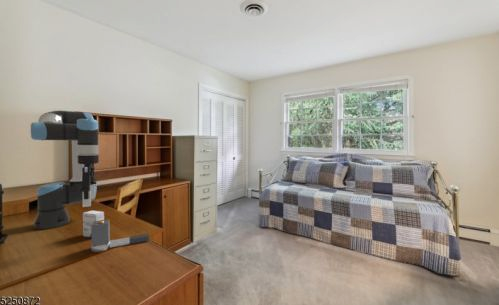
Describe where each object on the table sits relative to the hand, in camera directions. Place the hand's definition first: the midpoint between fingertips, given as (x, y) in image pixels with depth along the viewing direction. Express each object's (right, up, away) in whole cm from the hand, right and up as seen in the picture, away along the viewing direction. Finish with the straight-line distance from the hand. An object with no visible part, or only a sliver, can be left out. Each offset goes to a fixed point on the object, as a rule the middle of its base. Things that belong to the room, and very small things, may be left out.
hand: (89, 202), depth 98 cm
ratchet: (+13, -20, +3) cm, 24 cm away
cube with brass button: (+6, -18, -1) cm, 19 cm away
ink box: (-7, -20, +13) cm, 24 cm away
